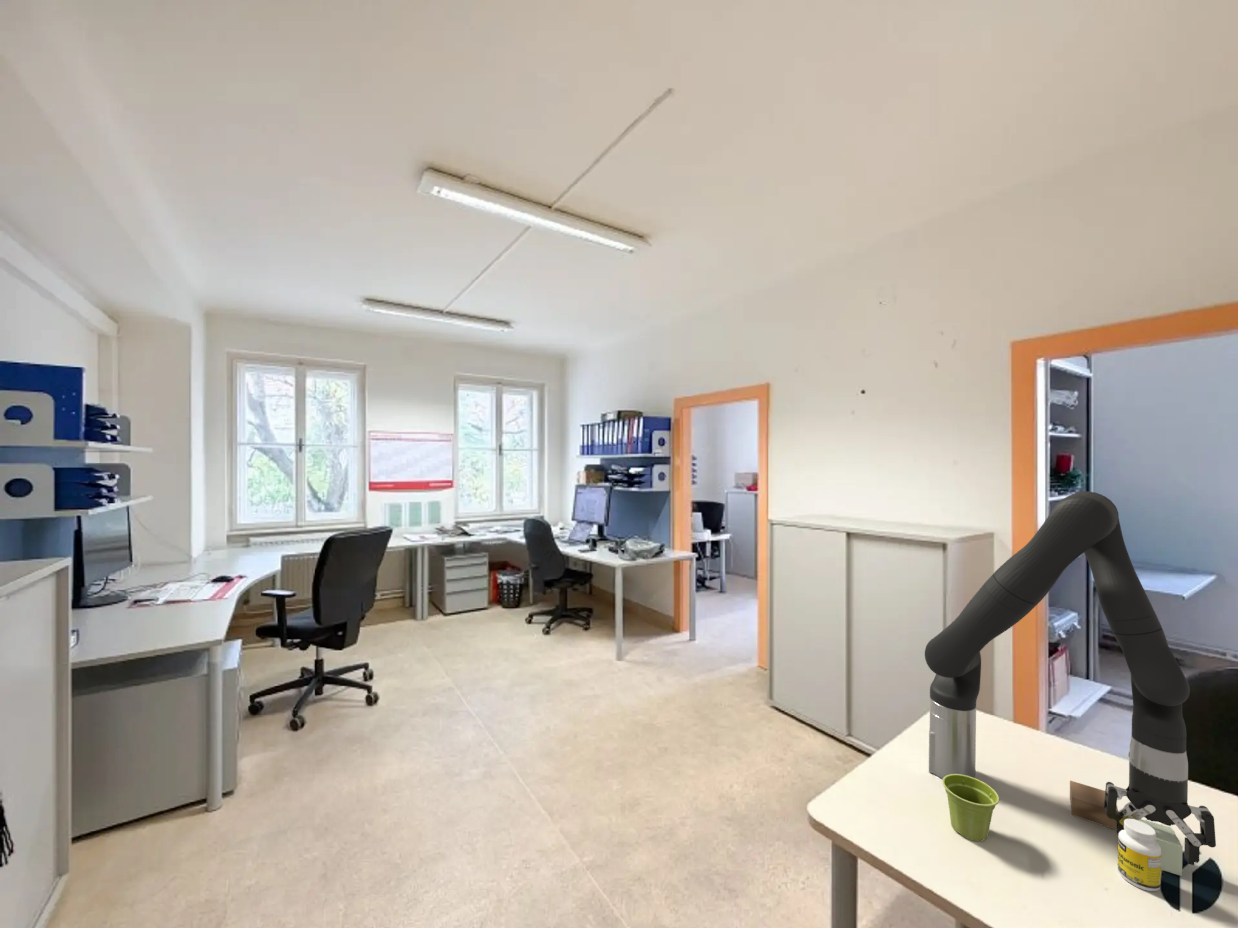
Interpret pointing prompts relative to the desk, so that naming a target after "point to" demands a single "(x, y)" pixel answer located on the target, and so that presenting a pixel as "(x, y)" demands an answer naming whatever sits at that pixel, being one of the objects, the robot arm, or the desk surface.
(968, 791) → the plant pot
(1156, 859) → the supplement bottle
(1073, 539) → the robot arm
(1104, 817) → the walnut block
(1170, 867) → the sage cube
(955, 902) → the desk surface
